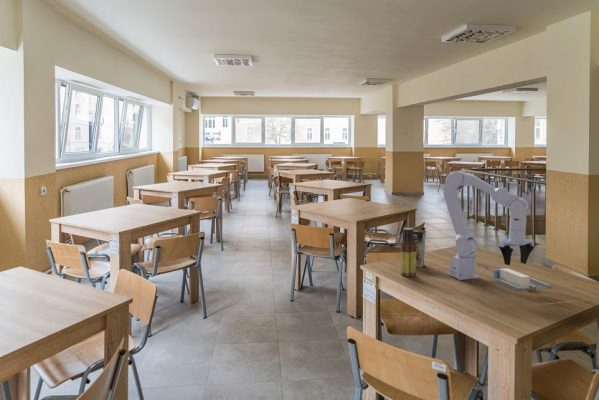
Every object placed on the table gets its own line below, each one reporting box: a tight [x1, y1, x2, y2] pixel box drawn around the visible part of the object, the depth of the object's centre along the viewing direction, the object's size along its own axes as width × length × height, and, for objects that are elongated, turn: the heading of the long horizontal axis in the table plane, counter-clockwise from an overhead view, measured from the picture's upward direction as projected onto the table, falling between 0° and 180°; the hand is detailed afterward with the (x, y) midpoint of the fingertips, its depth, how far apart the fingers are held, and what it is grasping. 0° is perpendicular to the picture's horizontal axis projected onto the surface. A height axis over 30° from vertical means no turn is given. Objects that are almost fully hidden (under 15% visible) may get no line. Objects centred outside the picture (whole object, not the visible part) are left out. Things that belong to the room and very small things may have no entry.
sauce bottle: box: [400, 227, 417, 277], centre depth 189 cm, size 7×6×20 cm
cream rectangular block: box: [499, 267, 531, 289], centre depth 177 cm, size 4×12×4 cm, turn 15°
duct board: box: [488, 267, 557, 292], centre depth 178 cm, size 18×16×4 cm
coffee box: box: [402, 228, 427, 268], centre depth 205 cm, size 9×6×16 cm
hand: (515, 263), depth 176 cm, fingers open, 7 cm apart
